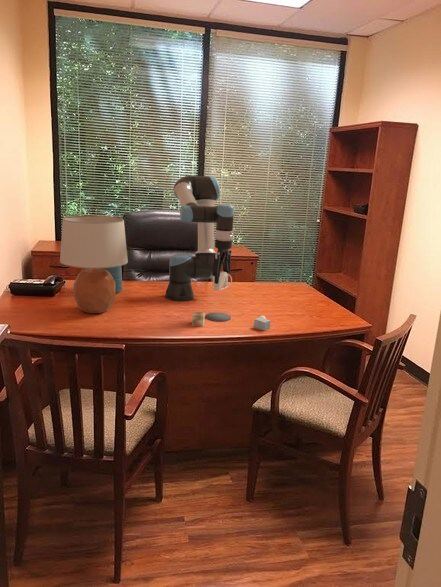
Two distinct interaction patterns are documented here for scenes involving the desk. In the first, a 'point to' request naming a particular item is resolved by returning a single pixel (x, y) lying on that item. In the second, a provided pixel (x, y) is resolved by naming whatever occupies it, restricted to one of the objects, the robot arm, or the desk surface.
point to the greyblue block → (262, 324)
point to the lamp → (93, 258)
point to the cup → (222, 279)
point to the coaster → (218, 316)
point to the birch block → (198, 318)
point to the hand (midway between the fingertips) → (220, 288)
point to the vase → (116, 277)
